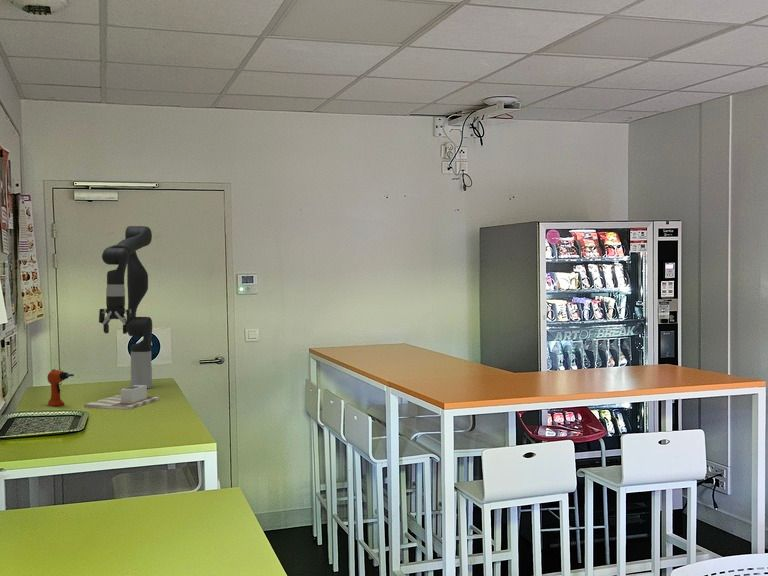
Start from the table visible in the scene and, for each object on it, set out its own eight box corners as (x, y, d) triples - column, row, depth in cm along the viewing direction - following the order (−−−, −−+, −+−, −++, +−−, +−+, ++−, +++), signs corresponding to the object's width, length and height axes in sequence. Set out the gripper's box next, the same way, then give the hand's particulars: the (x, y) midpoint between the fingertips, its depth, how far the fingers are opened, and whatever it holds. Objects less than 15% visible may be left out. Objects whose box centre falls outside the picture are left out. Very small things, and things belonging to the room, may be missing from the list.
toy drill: (69, 406, 303) (66, 368, 304) (45, 407, 315) (43, 370, 315) (81, 404, 306) (78, 367, 307) (57, 405, 318) (54, 369, 319)
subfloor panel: (116, 397, 333) (116, 394, 333) (159, 399, 329) (159, 396, 329) (84, 407, 309) (84, 404, 309) (129, 409, 305) (129, 406, 305)
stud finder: (135, 398, 324) (135, 384, 324) (146, 398, 323) (146, 384, 323) (120, 402, 313) (120, 388, 312) (131, 403, 312) (131, 389, 311)
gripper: (135, 295, 330) (135, 333, 330) (105, 294, 333) (105, 332, 333) (126, 295, 322) (126, 334, 323) (95, 295, 325) (95, 333, 326)
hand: (115, 333), depth 328 cm, fingers open, 8 cm apart
